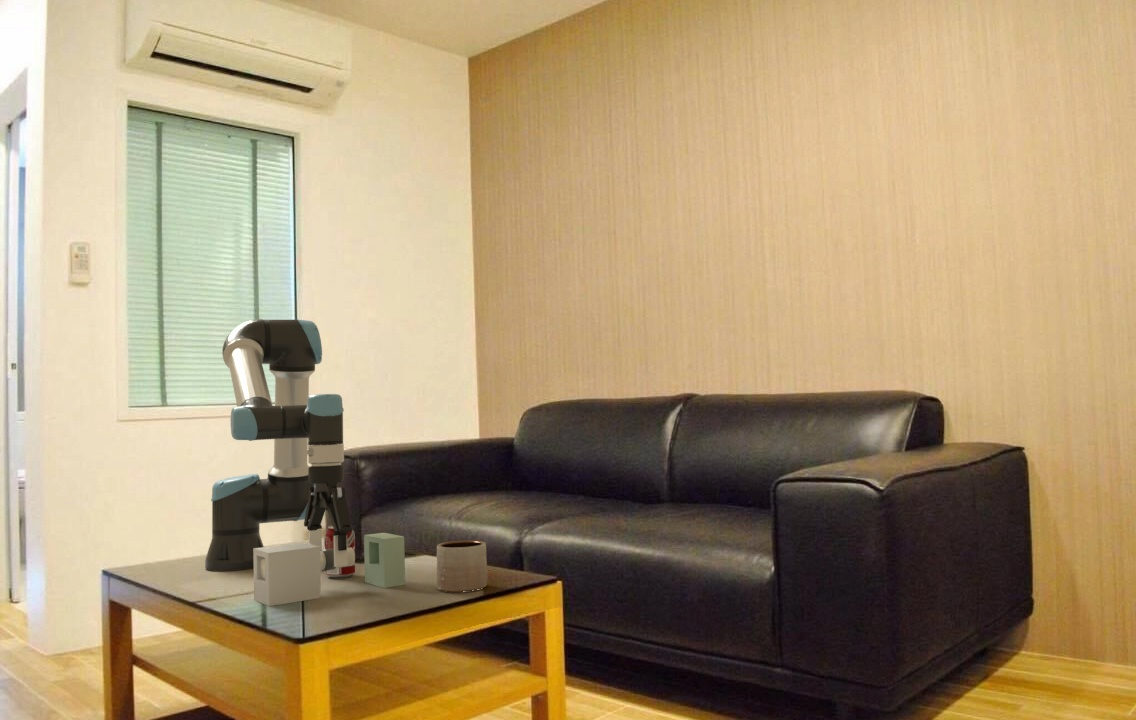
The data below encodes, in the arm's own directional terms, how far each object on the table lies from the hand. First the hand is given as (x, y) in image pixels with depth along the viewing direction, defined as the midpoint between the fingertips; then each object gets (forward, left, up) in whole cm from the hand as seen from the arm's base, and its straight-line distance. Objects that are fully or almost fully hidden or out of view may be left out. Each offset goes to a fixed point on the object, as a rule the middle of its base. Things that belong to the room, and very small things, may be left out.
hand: (327, 562), depth 192 cm
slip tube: (0, -4, -2) cm, 4 cm away
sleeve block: (0, -9, -6) cm, 11 cm away
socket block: (0, +14, -6) cm, 15 cm away
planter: (+18, +23, -7) cm, 30 cm away
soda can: (-16, +10, -7) cm, 20 cm away
